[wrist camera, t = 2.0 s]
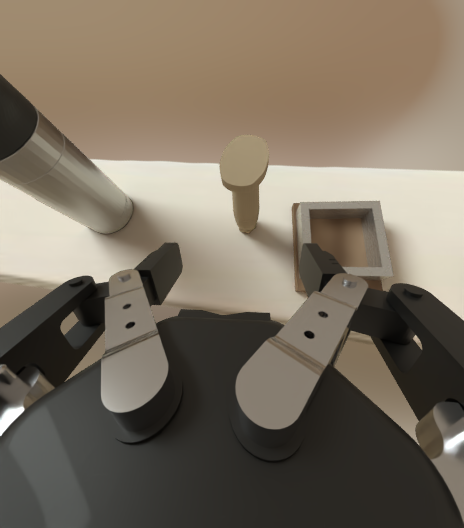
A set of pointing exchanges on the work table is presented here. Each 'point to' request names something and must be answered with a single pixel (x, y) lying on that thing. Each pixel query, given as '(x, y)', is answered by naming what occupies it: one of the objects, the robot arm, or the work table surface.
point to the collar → (371, 229)
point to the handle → (245, 177)
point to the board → (335, 244)
